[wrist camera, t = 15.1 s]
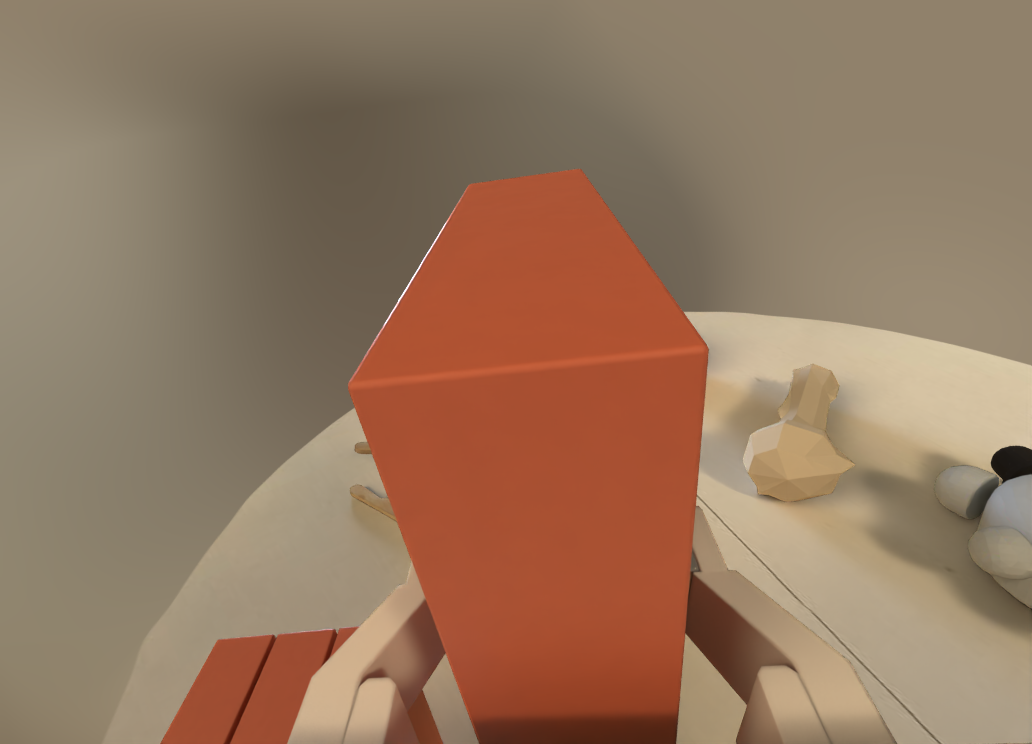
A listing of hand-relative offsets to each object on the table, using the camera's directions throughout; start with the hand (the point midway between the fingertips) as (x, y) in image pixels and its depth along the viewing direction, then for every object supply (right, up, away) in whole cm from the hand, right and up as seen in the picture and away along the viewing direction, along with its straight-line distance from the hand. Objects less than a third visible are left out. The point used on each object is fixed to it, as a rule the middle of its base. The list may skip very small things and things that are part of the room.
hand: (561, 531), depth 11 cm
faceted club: (+32, -5, +43) cm, 54 cm away
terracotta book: (+1, -7, +5) cm, 8 cm away
